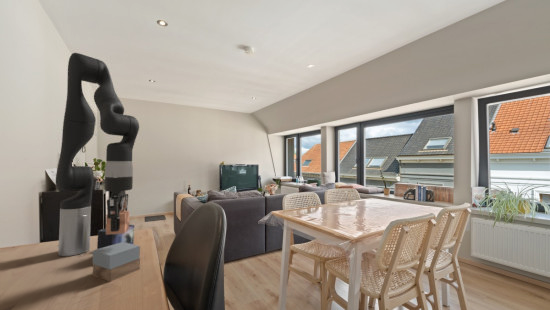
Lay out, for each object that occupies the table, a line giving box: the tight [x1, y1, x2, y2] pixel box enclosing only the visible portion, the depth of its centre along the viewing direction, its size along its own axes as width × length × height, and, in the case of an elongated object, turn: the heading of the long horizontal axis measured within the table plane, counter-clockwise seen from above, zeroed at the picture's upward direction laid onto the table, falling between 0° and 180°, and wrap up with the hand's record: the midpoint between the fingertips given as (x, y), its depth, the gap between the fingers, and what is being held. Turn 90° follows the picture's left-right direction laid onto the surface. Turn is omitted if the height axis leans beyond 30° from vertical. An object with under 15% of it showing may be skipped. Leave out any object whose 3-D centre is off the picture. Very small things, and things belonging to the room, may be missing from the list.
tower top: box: [92, 242, 141, 270], centre depth 74 cm, size 9×9×4 cm
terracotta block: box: [105, 210, 130, 235], centre depth 75 cm, size 5×5×6 cm
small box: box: [96, 224, 135, 249], centre depth 88 cm, size 11×6×10 cm, turn 168°
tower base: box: [92, 257, 141, 282], centre depth 74 cm, size 9×9×4 cm
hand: (117, 228), depth 75 cm, fingers closed on terracotta block, 5 cm apart
